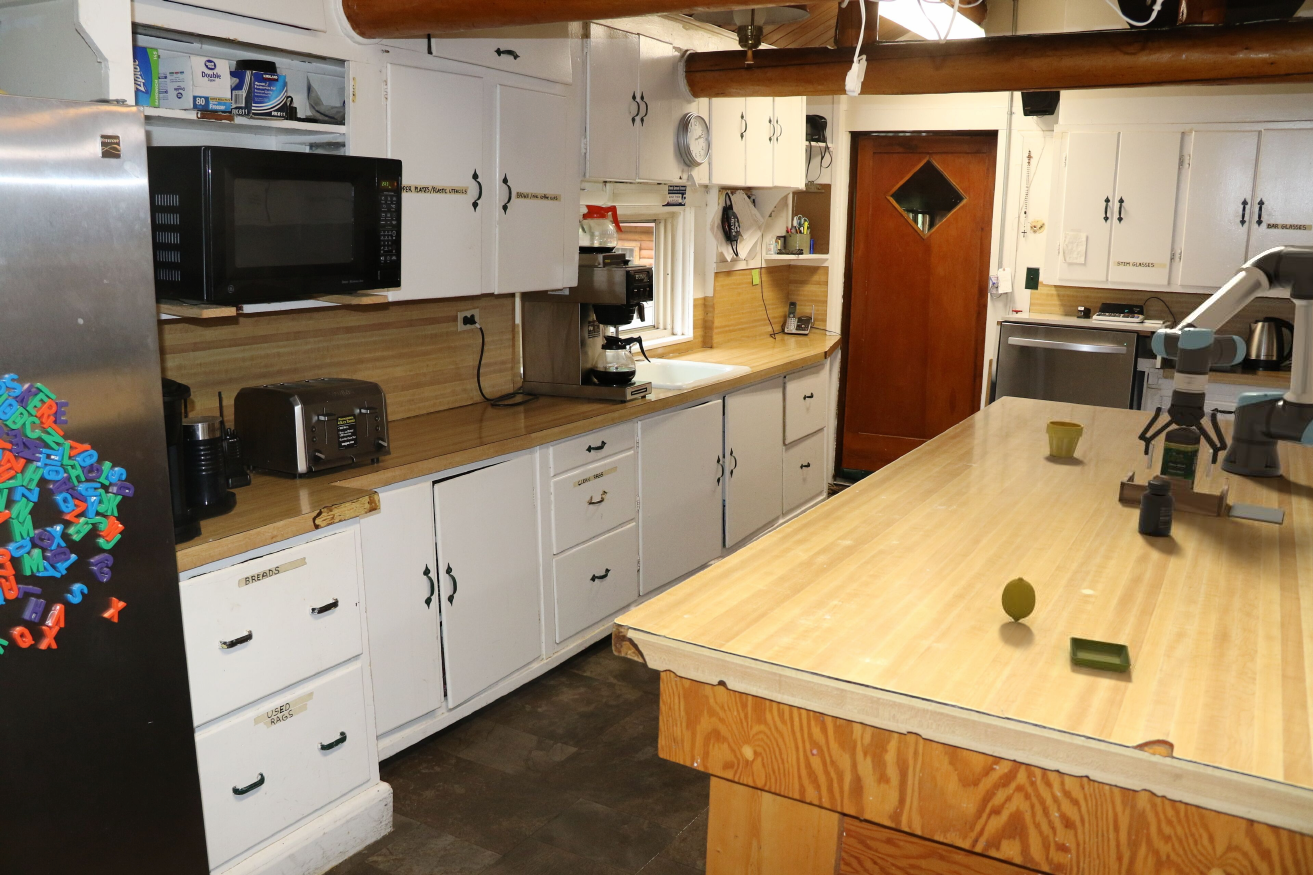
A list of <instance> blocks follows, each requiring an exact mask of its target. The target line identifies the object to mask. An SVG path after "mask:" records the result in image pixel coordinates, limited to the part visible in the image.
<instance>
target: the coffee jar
mask: <svg viewBox="0 0 1313 875" xmlns="http://www.w3.org/2000/svg"><path fill="white" fill-rule="evenodd" d="M1164 436H1165V437H1164V442H1163V451H1162V457H1161V465H1160V470H1159V471H1160V472H1159V475H1163V476H1169V477H1175V478H1181V479H1187V480H1192V482H1191V489H1190V490H1194V489H1195V479H1196V473H1197V466H1198V460H1199V455H1200V454H1199V453H1200V449H1201V448H1200V447H1201V438H1202V435H1201V434H1200V432H1199V431H1198V430H1197V429H1196V428H1194V427H1191V428H1190V427H1185V426H1177V427H1176V428H1174V427H1173V428H1172V429H1169V430H1167V431H1166V432H1165V435H1164Z"/></svg>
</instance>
